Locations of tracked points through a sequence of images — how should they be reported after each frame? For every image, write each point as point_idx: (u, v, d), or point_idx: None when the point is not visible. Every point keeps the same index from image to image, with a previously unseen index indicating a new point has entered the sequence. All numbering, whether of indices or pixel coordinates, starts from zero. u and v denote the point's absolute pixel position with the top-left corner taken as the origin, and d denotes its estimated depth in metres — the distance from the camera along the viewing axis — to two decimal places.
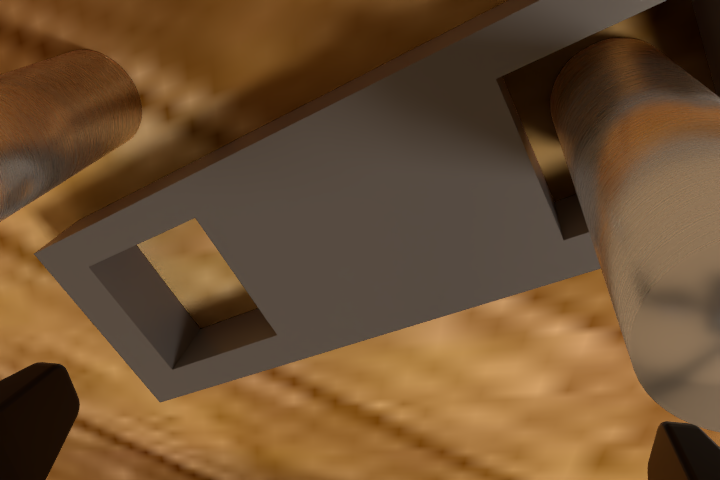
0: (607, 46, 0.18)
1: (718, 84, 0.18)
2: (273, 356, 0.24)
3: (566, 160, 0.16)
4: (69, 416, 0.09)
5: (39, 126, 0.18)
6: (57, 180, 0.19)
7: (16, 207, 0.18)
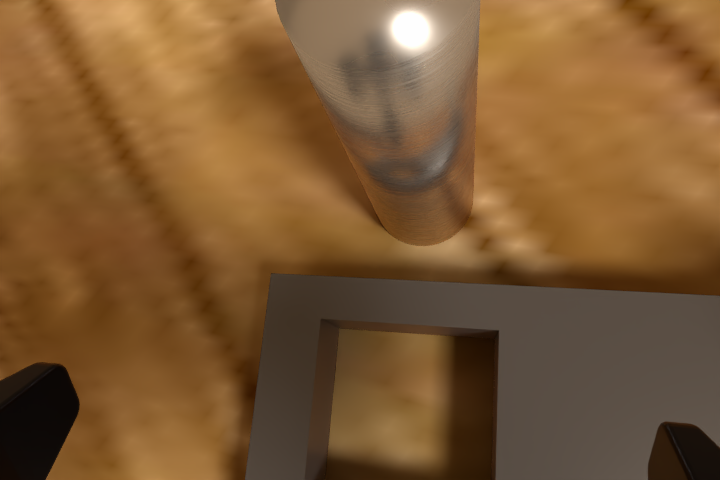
0: None
1: None
2: None
3: None
4: (69, 416, 0.09)
5: (474, 145, 0.17)
6: (433, 200, 0.18)
7: (426, 179, 0.16)
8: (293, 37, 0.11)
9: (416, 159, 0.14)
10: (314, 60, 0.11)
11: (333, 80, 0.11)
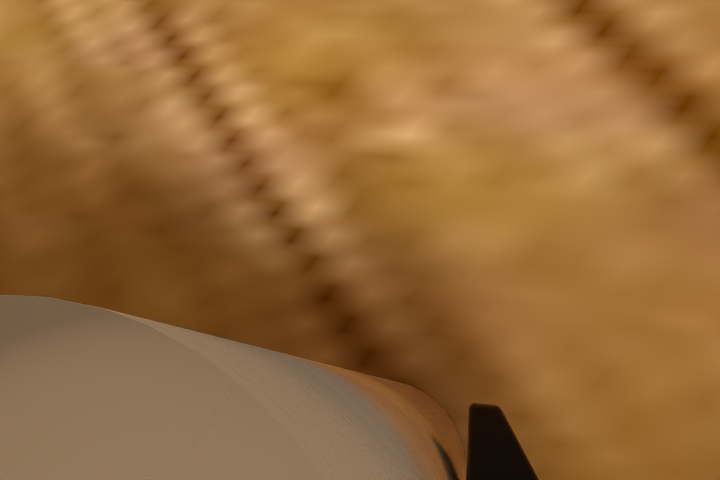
0: None
1: None
2: None
3: None
4: None
5: None
6: None
7: None
8: None
9: None
10: None
11: None
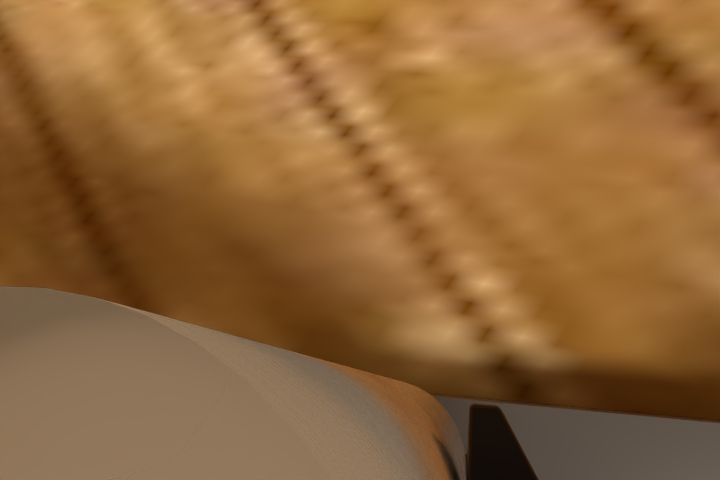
0: None
1: None
2: None
3: None
4: None
5: None
6: None
7: None
8: None
9: None
10: None
11: None
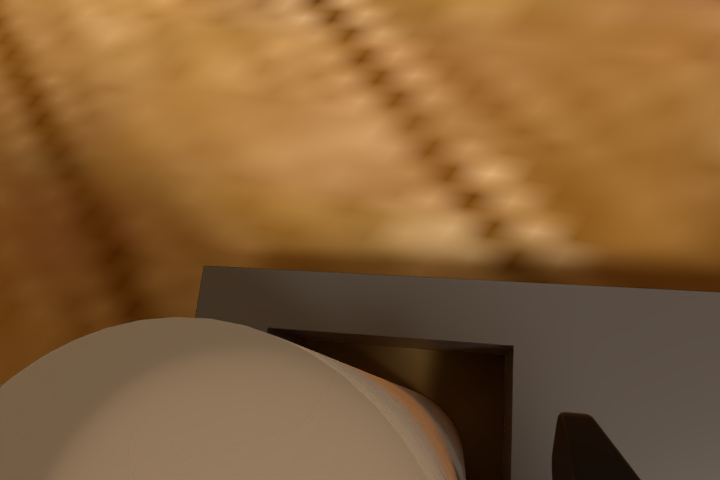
0: None
1: None
2: None
3: None
4: None
5: None
6: None
7: None
8: None
9: None
10: None
11: None
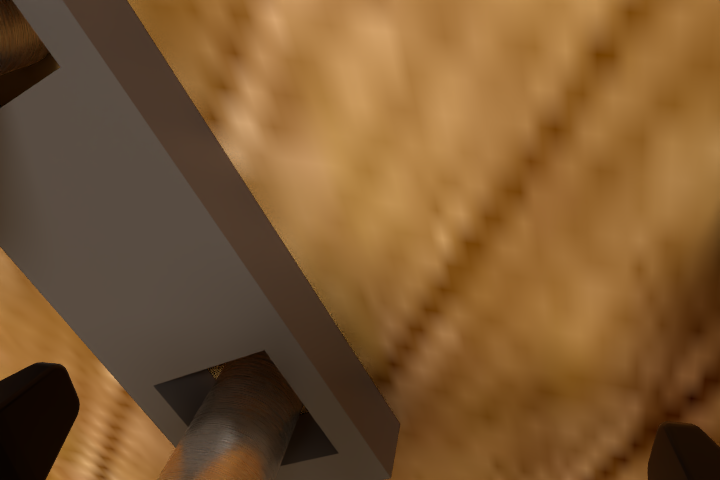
0: None
1: None
2: (295, 359, 0.22)
3: None
4: (69, 416, 0.09)
5: (198, 431, 0.21)
6: (254, 436, 0.21)
7: None
8: None
9: None
10: None
11: None
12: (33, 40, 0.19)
